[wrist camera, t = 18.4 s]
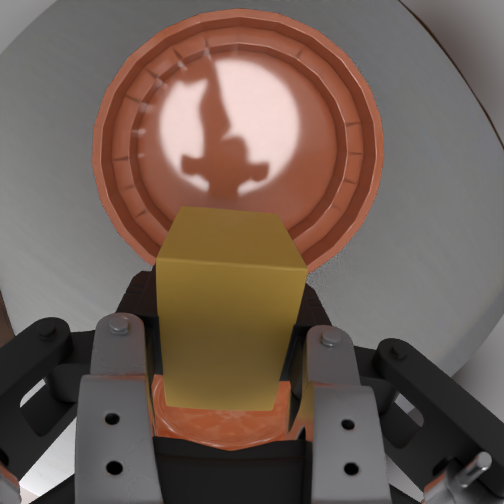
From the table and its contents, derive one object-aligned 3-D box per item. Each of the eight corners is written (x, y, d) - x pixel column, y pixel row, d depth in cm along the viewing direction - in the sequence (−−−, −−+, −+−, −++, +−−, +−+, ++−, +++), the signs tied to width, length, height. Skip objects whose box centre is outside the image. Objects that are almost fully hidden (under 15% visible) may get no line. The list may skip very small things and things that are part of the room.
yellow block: (180, 205, 11) (155, 257, 7) (278, 213, 11) (309, 268, 7) (178, 327, 13) (165, 406, 9) (258, 332, 13) (272, 411, 9)
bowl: (130, 27, 17) (111, 9, 13) (371, 57, 19) (398, 47, 15) (115, 254, 24) (97, 279, 20) (332, 272, 27) (350, 298, 23)
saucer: (112, 330, 28) (101, 354, 24) (337, 320, 29) (349, 343, 26) (159, 445, 37) (157, 465, 33) (312, 438, 38) (317, 457, 35)
